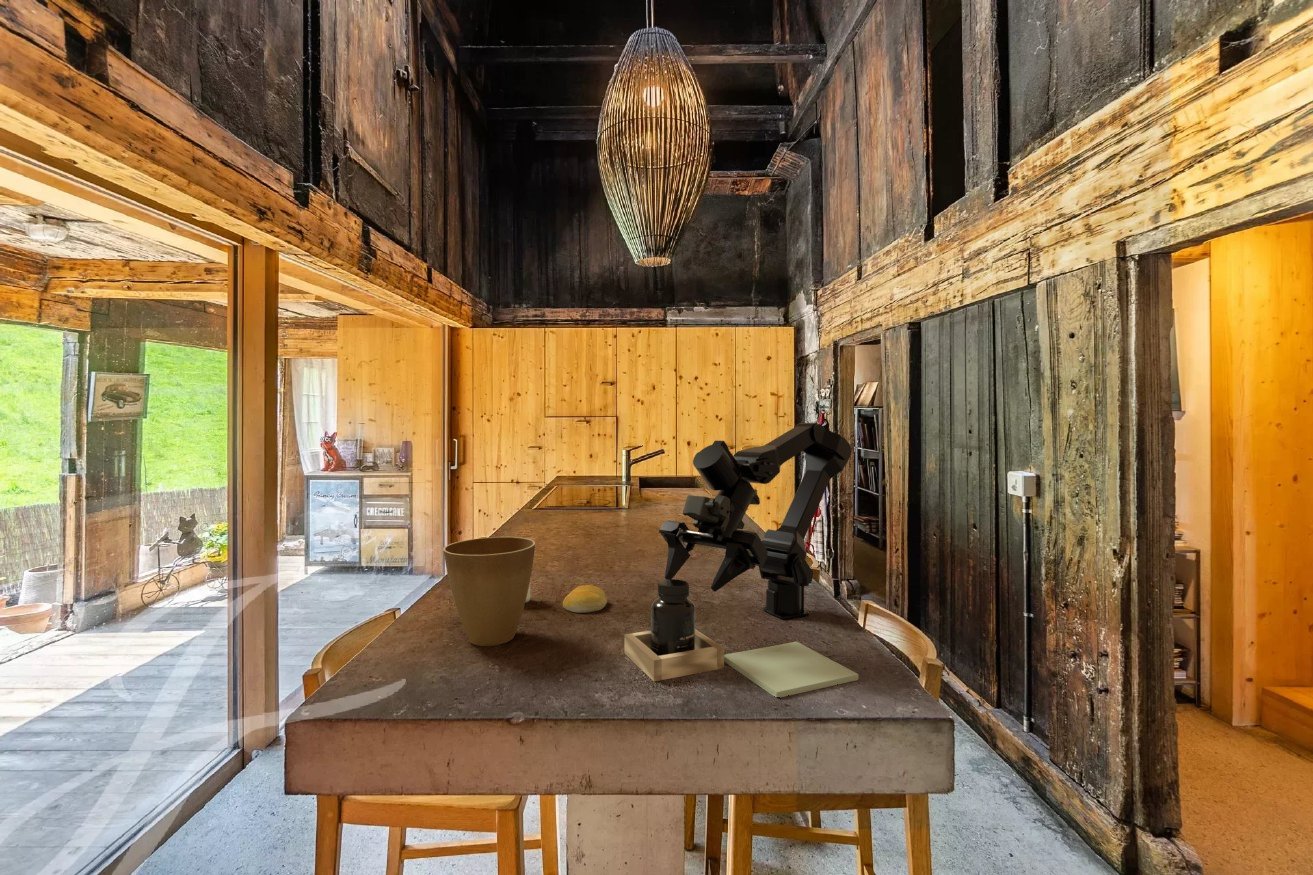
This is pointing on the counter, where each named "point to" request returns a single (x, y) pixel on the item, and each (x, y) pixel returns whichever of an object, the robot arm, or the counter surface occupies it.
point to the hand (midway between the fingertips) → (689, 584)
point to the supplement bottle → (672, 619)
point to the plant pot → (490, 585)
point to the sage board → (789, 669)
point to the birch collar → (674, 657)
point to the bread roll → (585, 599)
